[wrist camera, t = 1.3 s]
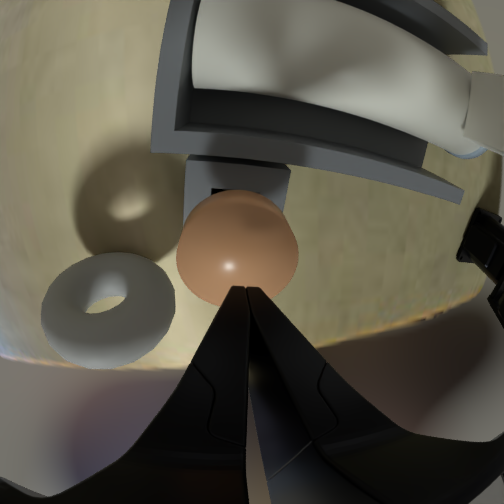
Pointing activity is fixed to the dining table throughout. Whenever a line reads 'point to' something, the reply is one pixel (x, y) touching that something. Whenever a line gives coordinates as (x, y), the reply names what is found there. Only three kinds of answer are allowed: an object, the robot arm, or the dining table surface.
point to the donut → (111, 321)
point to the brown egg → (236, 246)
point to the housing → (289, 118)
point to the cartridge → (348, 69)
